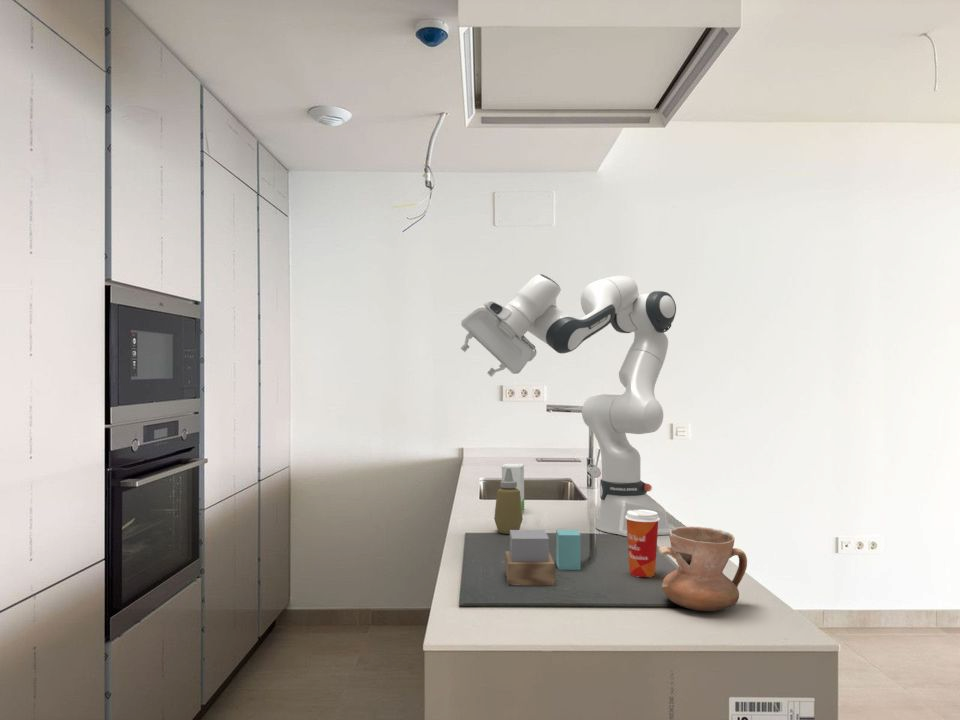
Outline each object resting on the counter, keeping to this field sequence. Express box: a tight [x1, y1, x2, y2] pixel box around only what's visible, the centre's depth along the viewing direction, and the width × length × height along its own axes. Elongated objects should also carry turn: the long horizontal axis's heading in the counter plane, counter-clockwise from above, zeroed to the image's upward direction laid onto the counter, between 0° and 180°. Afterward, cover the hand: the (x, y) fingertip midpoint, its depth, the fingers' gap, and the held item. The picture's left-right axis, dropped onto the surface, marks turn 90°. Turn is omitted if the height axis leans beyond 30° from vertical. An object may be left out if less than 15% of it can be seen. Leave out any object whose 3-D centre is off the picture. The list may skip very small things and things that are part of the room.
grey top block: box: [509, 529, 550, 562], centre depth 153 cm, size 8×8×5 cm
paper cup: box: [625, 510, 660, 578], centre depth 156 cm, size 8×8×14 cm
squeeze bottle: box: [494, 468, 523, 535], centre depth 196 cm, size 8×8×18 cm
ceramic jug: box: [658, 525, 748, 612], centre depth 136 cm, size 18×14×14 cm
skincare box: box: [501, 463, 525, 514], centre depth 222 cm, size 8×7×16 cm
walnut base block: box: [504, 550, 556, 586], centre depth 153 cm, size 10×10×5 cm
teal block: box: [555, 529, 582, 571], centre depth 162 cm, size 5×5×8 cm
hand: (476, 362), depth 178 cm, fingers open, 8 cm apart
